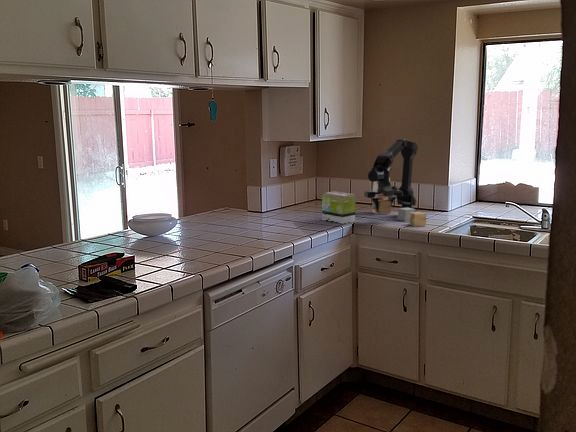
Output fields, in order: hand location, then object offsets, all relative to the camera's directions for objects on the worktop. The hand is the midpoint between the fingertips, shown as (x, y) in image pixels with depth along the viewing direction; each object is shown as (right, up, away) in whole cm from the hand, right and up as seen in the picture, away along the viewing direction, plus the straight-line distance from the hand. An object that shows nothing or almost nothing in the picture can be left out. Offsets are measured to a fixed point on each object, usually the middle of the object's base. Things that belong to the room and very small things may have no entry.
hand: (383, 210), depth 296 cm
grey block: (+13, -5, +7) cm, 16 cm away
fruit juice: (+3, -1, +28) cm, 28 cm away
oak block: (+16, -7, -6) cm, 19 cm away
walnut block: (0, -1, 0) cm, 1 cm away
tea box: (-22, -6, +5) cm, 24 cm away
